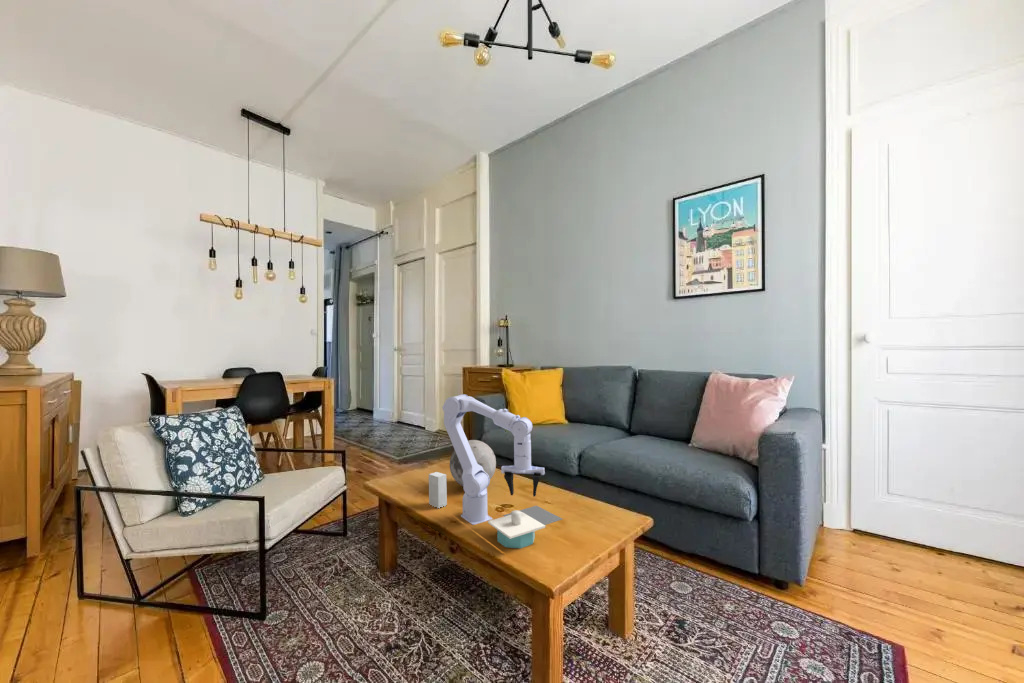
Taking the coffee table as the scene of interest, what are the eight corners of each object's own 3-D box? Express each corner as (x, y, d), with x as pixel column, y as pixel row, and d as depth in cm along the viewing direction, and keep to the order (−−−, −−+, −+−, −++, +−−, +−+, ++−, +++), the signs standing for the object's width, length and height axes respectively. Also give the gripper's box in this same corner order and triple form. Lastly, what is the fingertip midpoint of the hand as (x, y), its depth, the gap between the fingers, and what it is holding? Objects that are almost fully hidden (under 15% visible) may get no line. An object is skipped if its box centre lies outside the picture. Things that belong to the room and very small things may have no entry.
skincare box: (447, 505, 158) (446, 474, 158) (438, 509, 155) (437, 477, 155) (437, 501, 162) (436, 471, 162) (428, 505, 159) (428, 474, 159)
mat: (503, 516, 147) (503, 515, 147) (536, 506, 155) (536, 505, 155) (528, 531, 135) (528, 530, 135) (562, 520, 143) (562, 518, 143)
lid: (488, 523, 131) (487, 510, 131) (521, 513, 138) (521, 501, 138) (510, 538, 120) (509, 524, 120) (545, 527, 127) (545, 514, 127)
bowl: (492, 538, 130) (491, 524, 130) (520, 529, 137) (520, 515, 137) (511, 552, 121) (511, 537, 121) (541, 542, 127) (540, 527, 127)
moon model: (486, 476, 192) (485, 433, 192) (503, 490, 173) (503, 442, 174) (444, 483, 183) (443, 438, 183) (458, 498, 165) (457, 448, 165)
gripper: (499, 457, 137) (499, 498, 137) (542, 458, 134) (543, 500, 134) (503, 451, 144) (504, 490, 144) (544, 452, 141) (545, 492, 141)
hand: (523, 494), depth 139 cm, fingers open, 7 cm apart
